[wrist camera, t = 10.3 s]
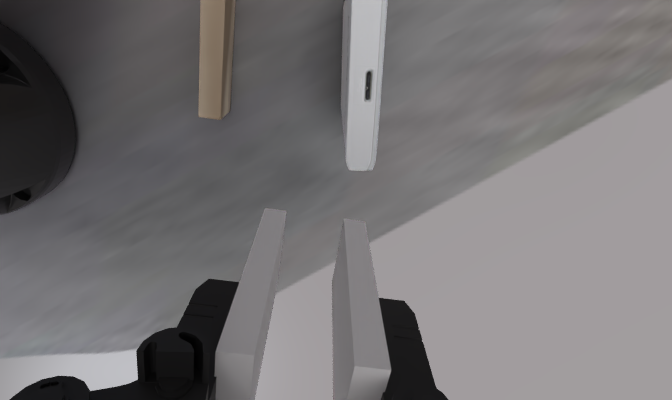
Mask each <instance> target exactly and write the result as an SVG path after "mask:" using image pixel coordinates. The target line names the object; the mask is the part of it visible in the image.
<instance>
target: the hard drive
mask: <svg viewBox="0 0 672 400" xmlns="http://www.w3.org/2000/svg"><path fill="white" fill-rule="evenodd" d="M386 17H387V0H345V1H344V5H343V33H342V76H341V115H342V125H343V135H344V146H345V158H346V164H347V167H348V169H349V170H352V171H372V169H373V167H374V164H375V161H376V154H377V142H378V130H379V117H380V103H381V88H382V73H383V59H384V46H385V32H386Z"/></svg>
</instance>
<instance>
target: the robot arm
mask: <svg viewBox="0 0 672 400" xmlns="http://www.w3.org/2000/svg"><path fill="white" fill-rule="evenodd" d="M74 150H75V127H74V121H73V116H72V112H71V109H70V106H69V103H68V100H67V98H66V96H65V94H64V91H63V89H62V88H61V86H60V84H59V82H58V80H57V79H56V77H55V76H54V74H53V73H52V71H51V70H50V68H49V67H48V66H47V64H46V63H45V62H44V61H43V59H42V58H41V57H40V56H39V55H38V54H37V53H36V52H35V51H34V50H33V49H32V48H31V47H30V46H29V45H28V44H27V43H26V42H25V41H24V40H23V39H21V38H20V37H19V36H18V35H17V34H15V33H14V32H12V31H11V30H10V29H8V28H7V27H5V26H4V25H2V24H1V23H0V215H2V214H6V213H10V212H13V211H16V210H18V209H21V208H23V207H25V206H27V205H29V204H31V203H32V202H34V201H36V200H37V199H39V198H41V197H42V196H44V195H45V194H47V193H48V192H50V191H51V190H53V189H54V188H55V187H56V186H57V185H58V184H59V183H60V182H61V180H62V179H63V178H64V176H65V175H66V173H67V171H68V169H69V167H70V165H71V162H72V159H73V155H74ZM286 213H287V211H284V210H277V209H270V208H265V209H264V212H263V215H262V218H261V221H260V223H259V226H258V229H257V232H256V235H255V238H254V241H253V244H252V247H251V250H250V253H249V256H248V258H247V261H246V264H245V267H244V270H243V273H242V276H241V279H240V282H231V281H223V280H215V279H208V280H207V281H206V282H204V283H203V284H202V285H201V286H199V287H198V288H197V289H196V290H195V292H194V294H193V296H192V298H191V300H190V302H189V305H188V306H187V308H186V310H185V312H184V315H183V317H182V318H181V320H180V322H179V324H178V326H177V328H168V329H165V330H162V331H159V332H156V333H154V334H153V335H151V336H150V337H148V338H147V339H146V340H144V341H143V342H142V344H141V345H140V347H139V348H138V349H137V366H138V367H137V368H138V380H136V381H134V382H132V383H129V384H126V385H122V386H118V387H112V388H107V389H101V390H95V391H90V390H89V389H88V387H87V385H86V384H85V382H84V381H81V380H80V379H77V378H75V377H71V376H56V377H52V378H47V379H42V380H40V381H38V382H36V383H34V384H32V385H29V386H27V387H25V388H24V389H23V390H21V391H20V392H19V393H18V394H16V395H15V396H13V397H12V398H11V399H10V400H255V395H256V389H257V385H258V379H259V374H260V369H261V364H262V359H263V354H264V348H265V344H266V339H267V334H268V329H269V323H270V319H271V313H272V309H273V303H274V298H275V293H276V288H277V283H278V278H279V271H280V263H281V255H282V246H283V238H284V229H285V221H286ZM332 318H333V319H332V321H333V400H448V399H447V398H446V396H445V395H444V394H443V393H442V392H441V391H439V390H438V389H437V388H436V386H435V383H434V379H433V376H432V372H431V369H430V365H429V362H428V359H427V355H426V351H425V348H424V344H423V342H422V338H421V334H420V331H419V330H418V324H417V320H416V317H415V314H414V312H413V311H412V310H411V309H410V308H409V306H408V305H407V304H406V303H405V301H399V300H392V299H383V298H379V297H378V292H377V286H376V280H375V275H374V269H373V264H372V258H371V252H370V246H369V241H368V235H367V229H366V224H365V221H359V220H351V219H344V221H343V226H342V231H341V237H340V242H339V248H338V253H337V258H336V264H335V269H334V274H333V280H332Z"/></svg>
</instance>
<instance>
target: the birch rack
mask: <svg viewBox="0 0 672 400" xmlns="http://www.w3.org/2000/svg"><path fill="white" fill-rule="evenodd" d="M235 2H236V0H201V5H200V63H199V117H203V118H210V119H216V120H221V119H222V118H223V117H224V116H225V115H226V114H228V113H229V112H230V103H231V83H232V63H233V43H234V22H235Z"/></svg>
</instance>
